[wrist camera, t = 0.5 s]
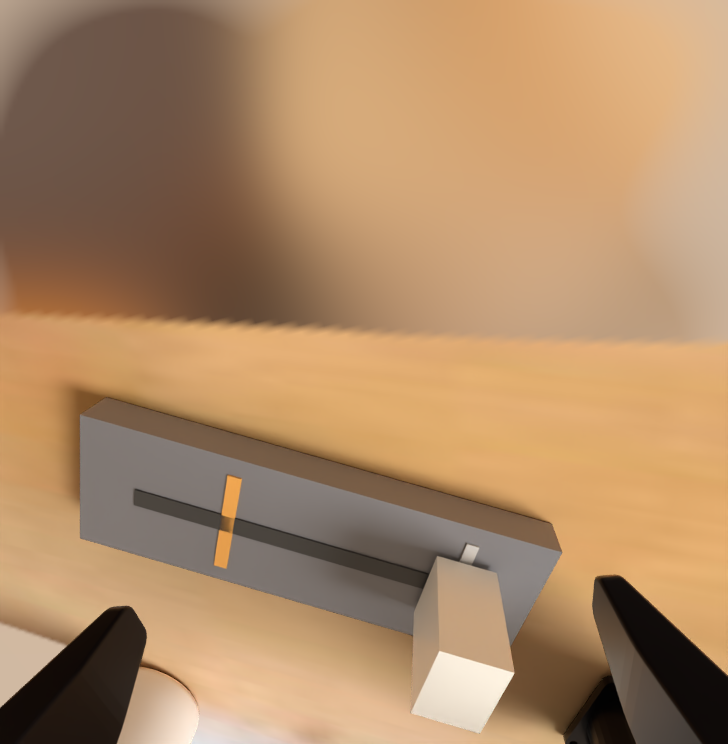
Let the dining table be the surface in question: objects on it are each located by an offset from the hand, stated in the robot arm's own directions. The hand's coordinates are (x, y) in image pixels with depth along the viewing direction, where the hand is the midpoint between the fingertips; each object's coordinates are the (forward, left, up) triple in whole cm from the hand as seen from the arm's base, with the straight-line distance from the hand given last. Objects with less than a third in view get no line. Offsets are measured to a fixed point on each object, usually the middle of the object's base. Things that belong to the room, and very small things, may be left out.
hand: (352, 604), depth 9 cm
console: (-10, +2, -14) cm, 17 cm away
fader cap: (-10, -6, -11) cm, 17 cm away
